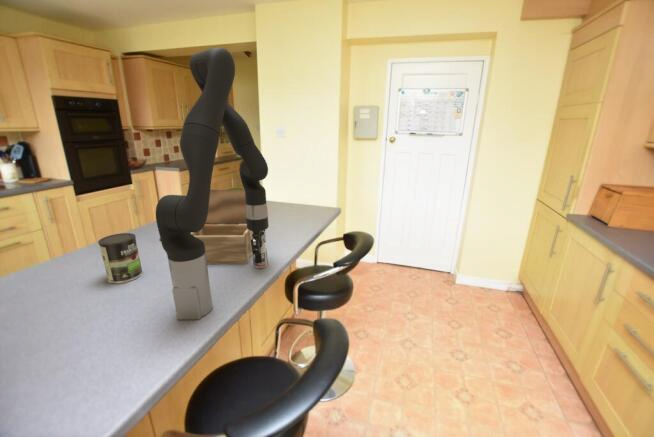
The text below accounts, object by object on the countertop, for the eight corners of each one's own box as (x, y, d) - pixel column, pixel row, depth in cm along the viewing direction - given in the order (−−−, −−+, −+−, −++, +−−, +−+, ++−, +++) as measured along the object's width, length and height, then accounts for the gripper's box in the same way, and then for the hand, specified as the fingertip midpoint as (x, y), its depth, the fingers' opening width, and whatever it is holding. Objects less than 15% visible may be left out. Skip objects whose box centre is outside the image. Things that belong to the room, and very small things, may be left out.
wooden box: (246, 263, 114) (244, 236, 110) (190, 263, 114) (186, 236, 110) (254, 249, 127) (252, 224, 123) (204, 249, 126) (200, 224, 123)
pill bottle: (258, 261, 116) (257, 239, 113) (270, 263, 114) (269, 241, 111) (250, 266, 111) (248, 244, 109) (262, 269, 109) (261, 246, 107)
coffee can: (149, 270, 108) (142, 233, 104) (126, 285, 99) (117, 245, 94) (125, 267, 110) (117, 231, 106) (99, 282, 101) (89, 242, 96)
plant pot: (241, 203, 197) (239, 186, 194) (249, 207, 189) (248, 189, 185) (223, 206, 190) (221, 188, 187) (231, 210, 181) (229, 192, 178)
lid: (251, 189, 122) (252, 189, 124) (199, 189, 122) (201, 189, 123) (252, 223, 123) (253, 223, 124) (200, 224, 122) (201, 223, 124)
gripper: (263, 222, 100) (266, 268, 105) (271, 209, 114) (273, 251, 119) (241, 222, 100) (245, 268, 105) (251, 209, 114) (254, 251, 119)
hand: (260, 258), depth 112 cm, fingers closed on pill bottle, 5 cm apart
